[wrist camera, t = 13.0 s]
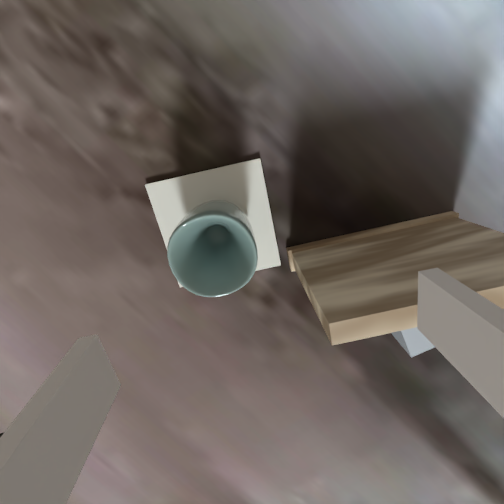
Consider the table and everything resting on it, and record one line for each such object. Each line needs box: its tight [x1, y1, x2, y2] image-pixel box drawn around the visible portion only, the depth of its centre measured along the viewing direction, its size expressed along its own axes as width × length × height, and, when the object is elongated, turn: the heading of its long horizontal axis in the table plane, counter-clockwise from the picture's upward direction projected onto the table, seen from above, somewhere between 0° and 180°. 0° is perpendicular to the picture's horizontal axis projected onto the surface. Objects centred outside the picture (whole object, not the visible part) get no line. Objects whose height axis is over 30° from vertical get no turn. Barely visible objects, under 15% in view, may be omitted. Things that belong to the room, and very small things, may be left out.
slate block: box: [392, 327, 435, 357], centre depth 39 cm, size 5×5×5 cm
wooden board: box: [286, 211, 504, 345], centre depth 29 cm, size 3×21×16 cm, turn 102°
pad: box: [145, 158, 281, 287], centre depth 35 cm, size 13×13×1 cm
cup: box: [167, 200, 258, 297], centre depth 30 cm, size 8×8×10 cm
